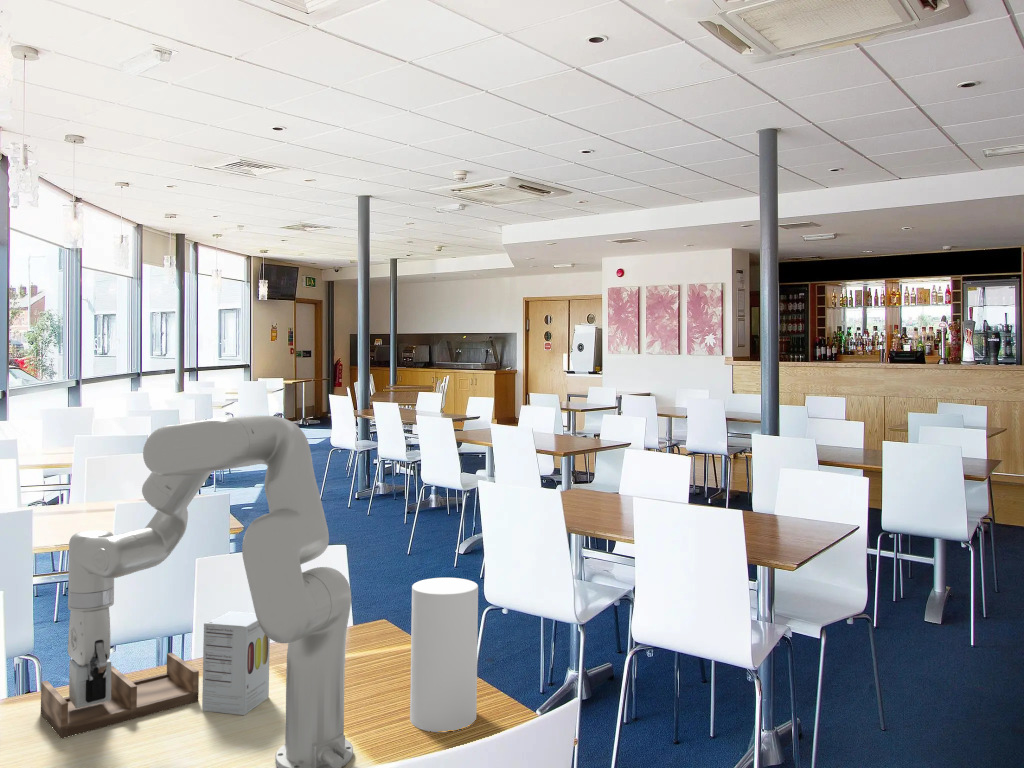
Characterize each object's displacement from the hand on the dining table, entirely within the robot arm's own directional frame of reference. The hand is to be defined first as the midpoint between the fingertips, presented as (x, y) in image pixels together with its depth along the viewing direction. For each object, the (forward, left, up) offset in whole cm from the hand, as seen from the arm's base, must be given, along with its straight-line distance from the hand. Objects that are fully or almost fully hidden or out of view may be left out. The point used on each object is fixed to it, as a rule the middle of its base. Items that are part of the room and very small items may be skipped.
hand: (89, 693), depth 144 cm
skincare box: (0, 0, -1) cm, 1 cm away
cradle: (+1, -6, -4) cm, 7 cm away
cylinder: (-44, -49, -5) cm, 66 cm away
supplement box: (-12, -23, -5) cm, 26 cm away
